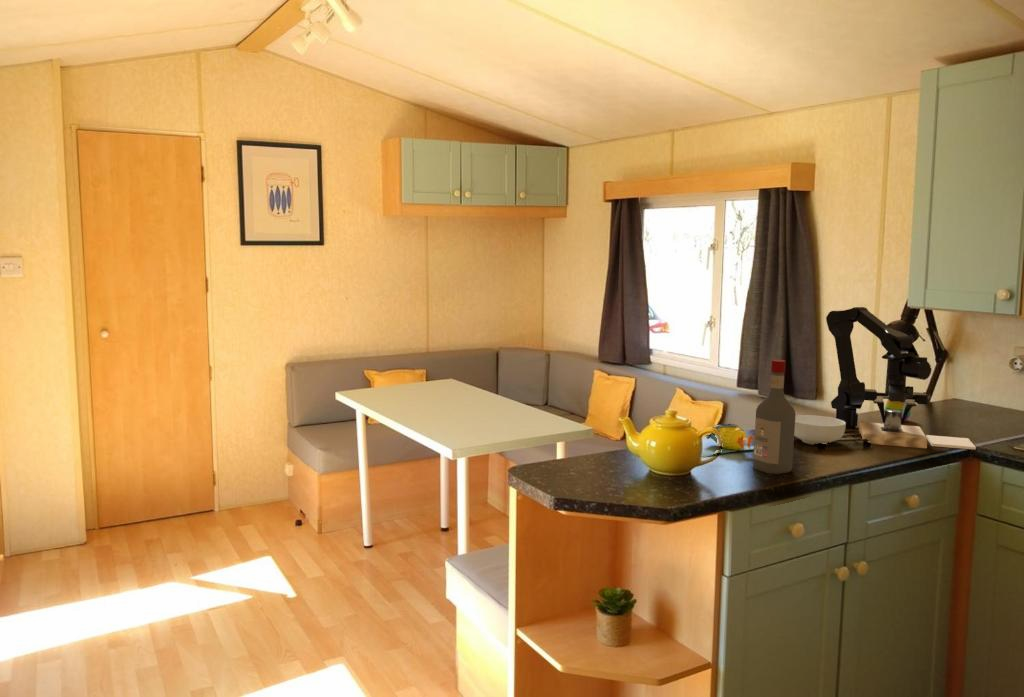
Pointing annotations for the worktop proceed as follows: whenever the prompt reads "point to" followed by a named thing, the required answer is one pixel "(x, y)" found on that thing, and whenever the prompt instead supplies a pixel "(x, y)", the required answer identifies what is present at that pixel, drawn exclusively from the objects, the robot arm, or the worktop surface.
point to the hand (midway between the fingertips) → (892, 423)
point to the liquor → (774, 427)
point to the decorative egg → (896, 407)
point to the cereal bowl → (818, 429)
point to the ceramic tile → (950, 442)
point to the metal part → (892, 421)
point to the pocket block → (893, 435)
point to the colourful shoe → (730, 439)
